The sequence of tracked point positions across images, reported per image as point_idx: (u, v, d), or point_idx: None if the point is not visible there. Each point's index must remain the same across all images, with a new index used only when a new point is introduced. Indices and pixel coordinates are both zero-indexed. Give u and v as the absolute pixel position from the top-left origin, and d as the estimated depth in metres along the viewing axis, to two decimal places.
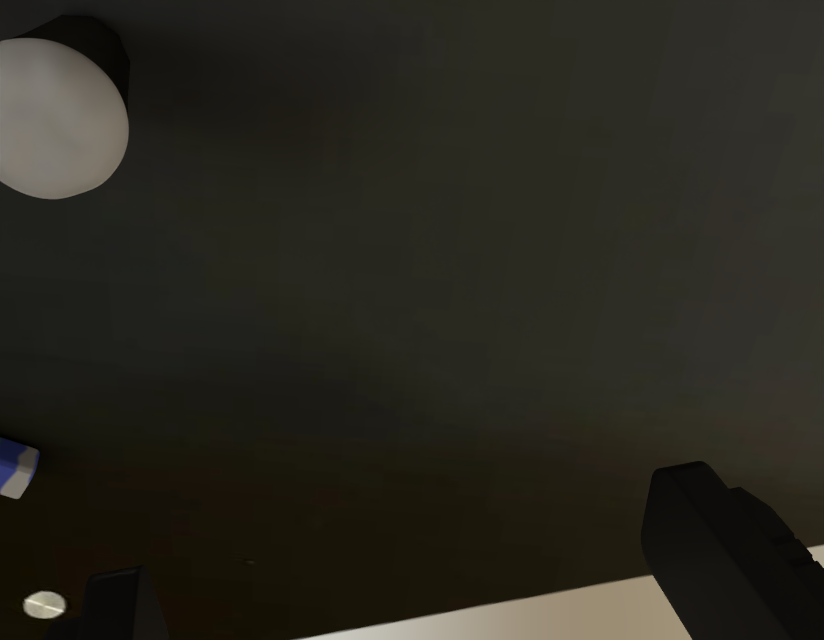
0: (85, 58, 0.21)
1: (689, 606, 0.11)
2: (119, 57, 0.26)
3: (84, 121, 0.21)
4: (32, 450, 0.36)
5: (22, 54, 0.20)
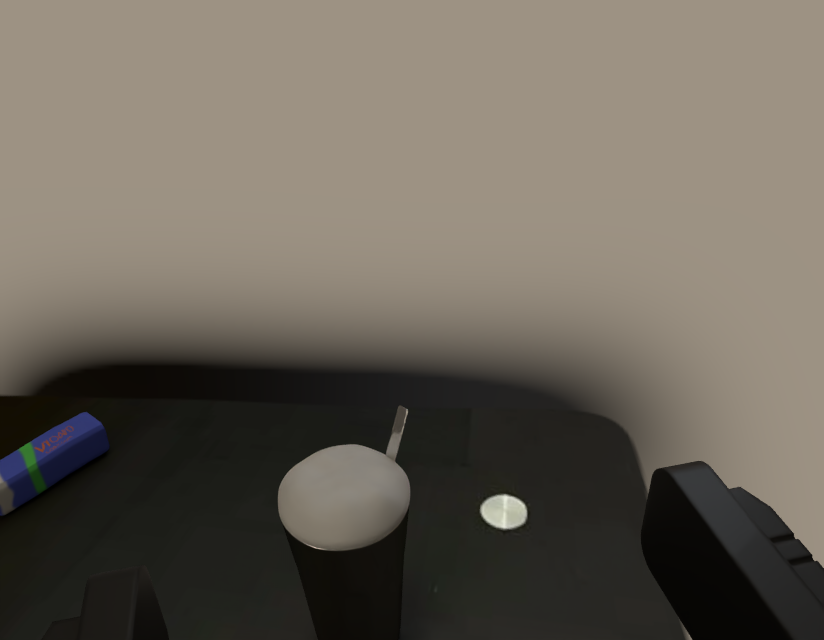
0: (389, 527, 0.24)
1: (689, 606, 0.11)
2: (365, 633, 0.27)
3: (343, 502, 0.24)
4: (7, 509, 0.36)
5: (400, 485, 0.25)
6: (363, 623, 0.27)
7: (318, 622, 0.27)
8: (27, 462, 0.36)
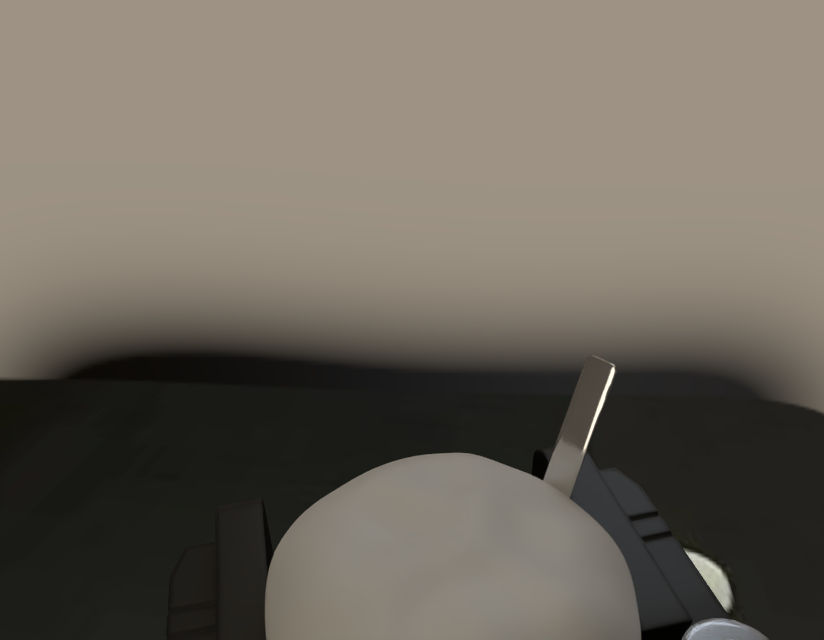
0: None
1: None
2: None
3: (475, 631, 0.08)
4: None
5: (616, 573, 0.09)
6: None
7: None
8: None
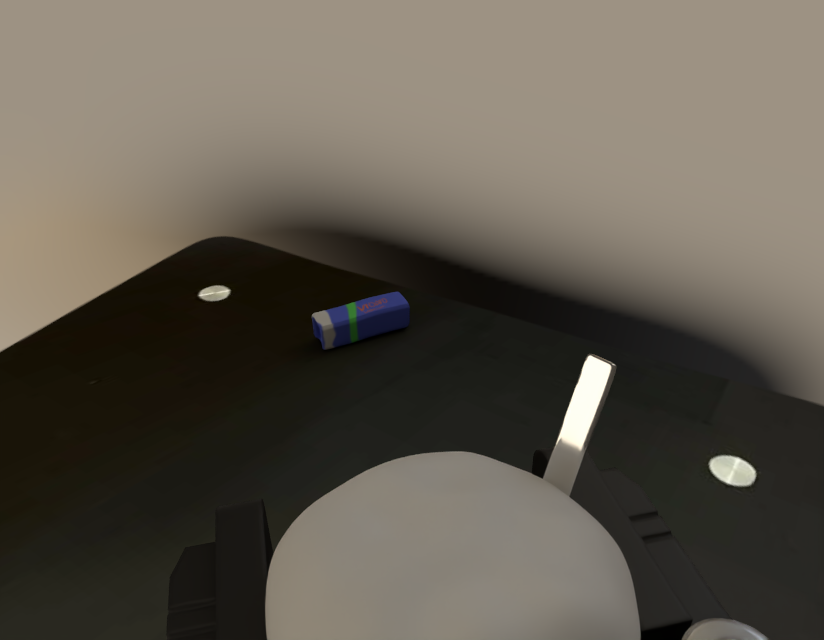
0: None
1: None
2: None
3: (475, 628, 0.08)
4: (328, 345, 0.47)
5: (616, 571, 0.09)
6: None
7: None
8: (350, 315, 0.47)
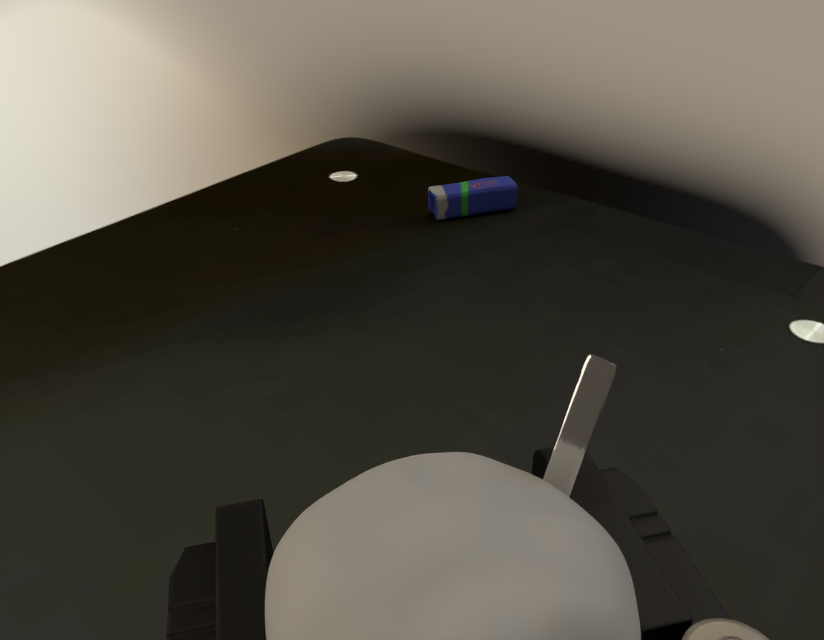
0: None
1: None
2: None
3: (475, 630, 0.08)
4: (440, 216, 0.51)
5: (616, 572, 0.09)
6: None
7: None
8: (462, 190, 0.51)
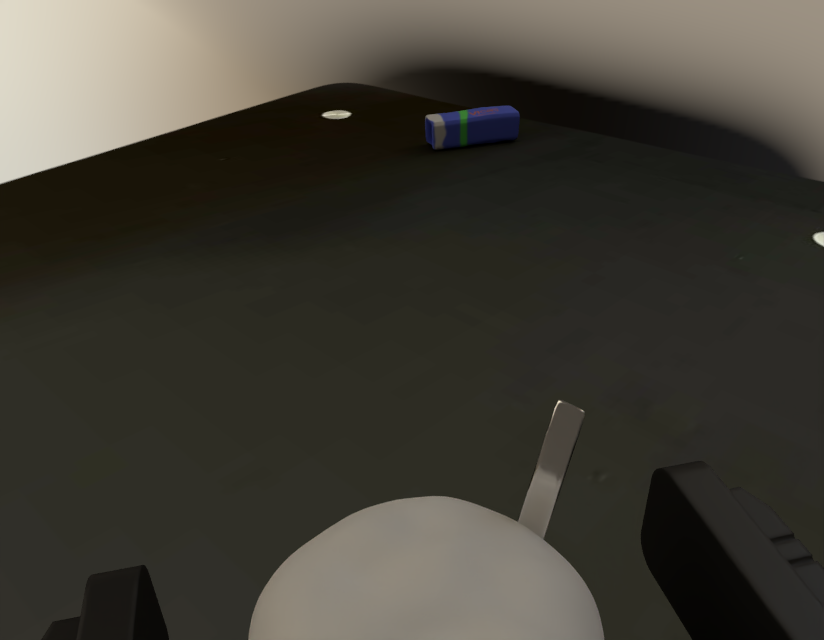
0: None
1: (689, 606, 0.11)
2: None
3: None
4: (438, 145, 0.49)
5: (584, 619, 0.09)
6: None
7: None
8: (461, 117, 0.49)
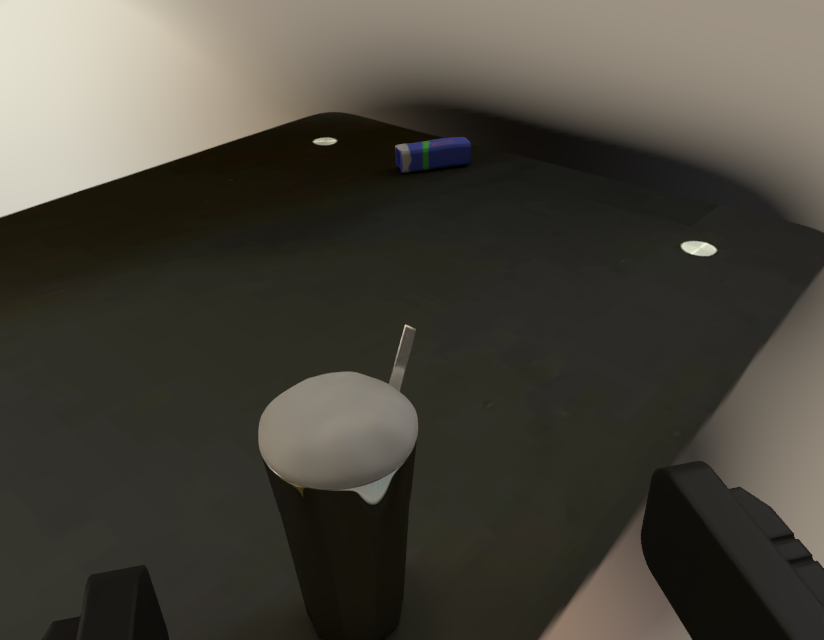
0: (393, 462, 0.20)
1: (689, 606, 0.11)
2: (363, 598, 0.23)
3: (338, 430, 0.20)
4: (405, 169, 0.60)
5: (406, 415, 0.21)
6: (360, 585, 0.22)
7: (306, 585, 0.23)
8: (423, 147, 0.60)
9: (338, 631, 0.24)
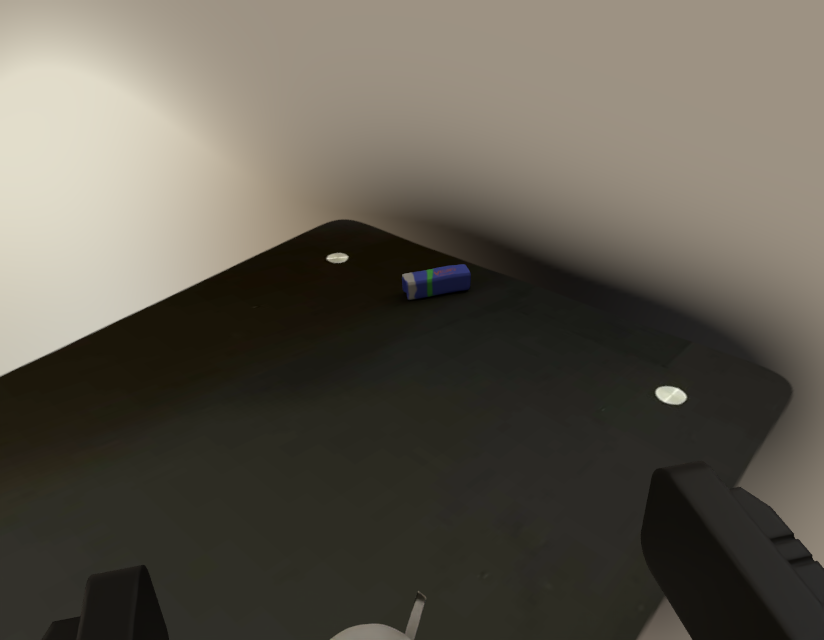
0: None
1: (689, 606, 0.11)
2: None
3: None
4: (411, 297, 0.67)
5: None
6: None
7: None
8: (428, 277, 0.67)
9: None
